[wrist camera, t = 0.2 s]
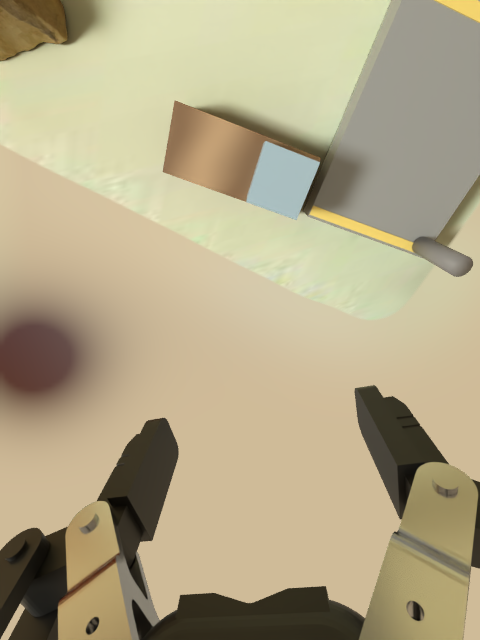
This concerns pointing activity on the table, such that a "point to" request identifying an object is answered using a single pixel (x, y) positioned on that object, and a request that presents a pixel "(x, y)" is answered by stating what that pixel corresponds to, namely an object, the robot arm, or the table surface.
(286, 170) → the pale blue cube
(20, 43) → the rock
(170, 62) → the table surface
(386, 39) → the dock
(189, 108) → the pallet
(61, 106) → the table surface
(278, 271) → the table surface
